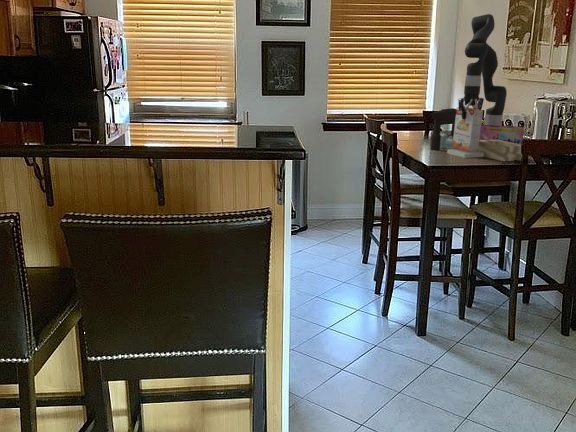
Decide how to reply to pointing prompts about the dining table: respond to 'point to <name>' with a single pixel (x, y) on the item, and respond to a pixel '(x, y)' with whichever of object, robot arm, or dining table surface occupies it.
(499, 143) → the holder
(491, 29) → the robot arm
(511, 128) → the gum box
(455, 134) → the cracker box
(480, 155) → the plate
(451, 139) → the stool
